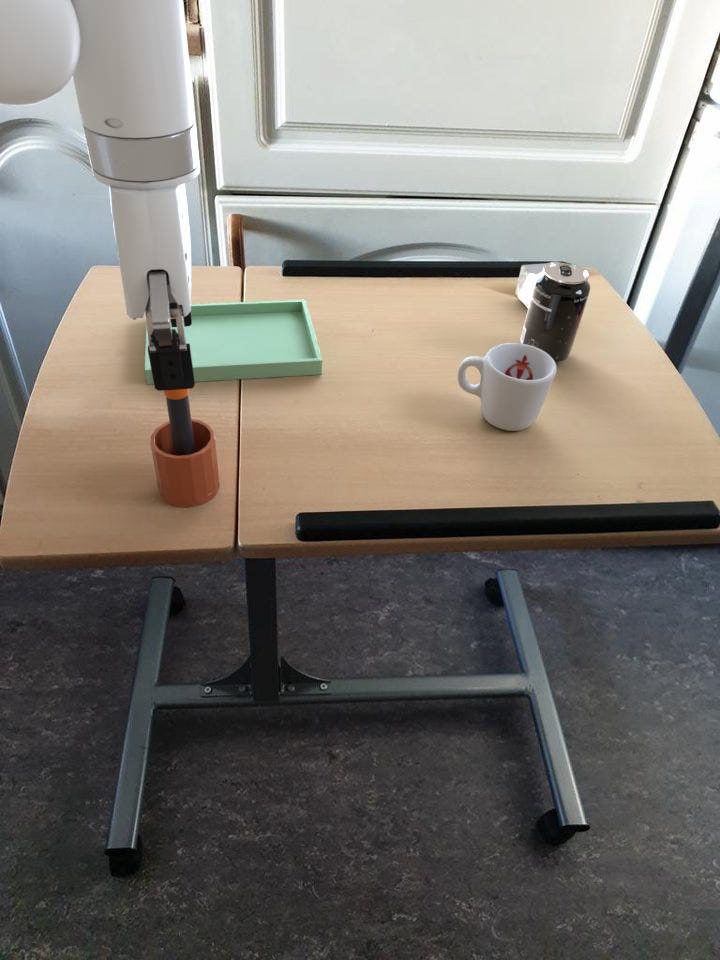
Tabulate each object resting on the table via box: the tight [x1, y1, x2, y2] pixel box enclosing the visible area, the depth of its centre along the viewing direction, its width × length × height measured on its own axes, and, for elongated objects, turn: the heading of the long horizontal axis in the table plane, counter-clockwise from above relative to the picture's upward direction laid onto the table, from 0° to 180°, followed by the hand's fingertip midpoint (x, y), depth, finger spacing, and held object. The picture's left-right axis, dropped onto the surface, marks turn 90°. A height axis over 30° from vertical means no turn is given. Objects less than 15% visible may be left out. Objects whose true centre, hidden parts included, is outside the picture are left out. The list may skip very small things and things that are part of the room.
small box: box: [514, 262, 549, 309], centre depth 104 cm, size 6×6×5 cm
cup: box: [457, 342, 558, 432], centre depth 82 cm, size 11×8×8 cm
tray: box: [144, 299, 323, 386], centre depth 91 cm, size 21×15×2 cm
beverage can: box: [519, 260, 591, 364], centre depth 91 cm, size 7×7×12 cm
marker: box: [163, 389, 195, 456], centre depth 67 cm, size 2×2×14 cm
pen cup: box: [150, 418, 220, 508], centre depth 70 cm, size 6×6×6 cm
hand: (174, 354), depth 61 cm, fingers open, 9 cm apart
